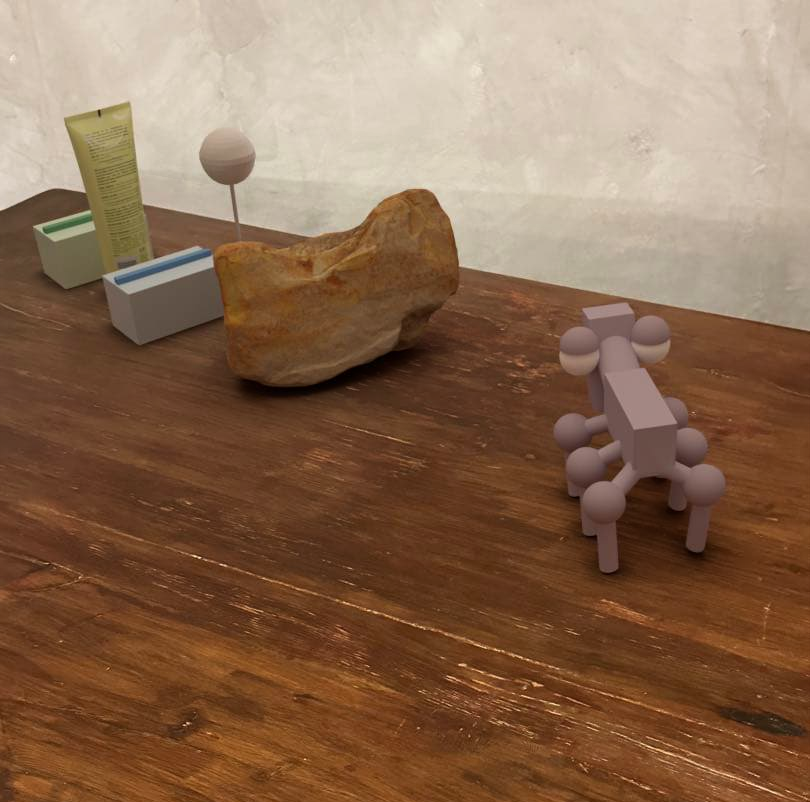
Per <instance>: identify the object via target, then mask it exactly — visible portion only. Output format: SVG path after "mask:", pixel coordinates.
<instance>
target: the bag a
mask: <svg viewBox="0 0 810 802" xmlns="http://www.w3.org/2000/svg"><path fill="white" fill-rule="evenodd" d="M101 279H102V282H103V286H104V291H105V296H106V300H107V305H108V309H109V313H110V318H111V323H112V327H114V328H115V329H116V330H118V331H119V332H121V333H122V334H123V335H124V336H126V337H127V338H128V339H130V340H131V341H132V342H134V343H135V345H137V346H142V345H144V344H148V343H150V342H154V341H156V340H159V339H162V338H165V337H168V336H172V335H173V334H176V333H179V332H182V331H185V330H188V329H190V328H194V327H197V326H199V325H202V324H205V323H208V322H211V321H214V320H216V319H220V318H222V317H224V310H223V304H222V297H221V291H220V286H219V281H218V278H217V276H216V273H215V269H214V264H213V254H212V250H211V249H210V248H208V247H206V248H202V247H200V246H199V245H196V246H192V247H189V248H186V249H183V250H180V251H176V252H173V253H169V254H165V255H164V256H160V257H157V258H154V260H150V261H147V262H144V263H141V264H138V265H134V266H131V267H128V268H125V269H122V270H118V271H115V272H112V273H109V274H106V275H103V276H102V278H101Z"/></svg>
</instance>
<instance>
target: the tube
mask: <svg viewBox="0 0 810 802" xmlns="http://www.w3.org/2000/svg"><path fill="white" fill-rule="evenodd" d="M131 104H132V103H131V101H130V100H127V101H124V102H120V103H115V104H112V105H109V106H103V107H101V108H97V109H92V110H88V111H84V112H80V113H76V114H72V115H67V116H64V117H63V120H64V126H65V128H66V132H67V134H68V137H69V140H70V144H71V146H72V149H73V153H74V156H75V160H76V162H77V166H78V169H79V173H80V177H81V180H82V184H83V188H84V191H85V195H86V199H87V202H88V206H89V210H91V214H92V218H93V222H94V226H95V230H96V234H97V238H98V242H99V246H100V250H101V255H102V259H103V263H104V267H105V272H106V274H109V273H112V272H115V271H118V270H122V269H125V268H128V267H131V266H134V265H138V264H141V263H144V262H147V261H150V260H151V255H150V249H149V243H148V236H147V230H146V223H145V217H144V214H145V210H144V203H143V198H142V189H141V182H140V175H139V174H140V173H139V168H138V160H137V152H136V151H137V149H136V142H135V133H134V122H133V111H132V105H131Z"/></svg>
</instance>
